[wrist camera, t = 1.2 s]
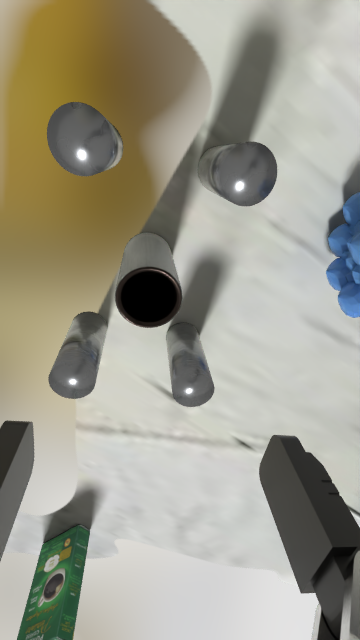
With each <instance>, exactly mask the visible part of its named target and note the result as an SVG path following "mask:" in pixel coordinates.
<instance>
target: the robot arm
mask: <svg viewBox="0 0 360 640" xmlns="http://www.w3.org/2000/svg"><path fill="white" fill-rule="evenodd" d="M33 462H34V436H33V423H32V422H25V421H24V422H23V421H5V422H4V423H3V425H2V426H1V428H0V561H1V558H2V555H3V552H4V549H5V546H6V544H7V541H8V538H9V535H10V532H11V530H12V527H13V524H14V521H15V518H16V516H17V513H18V510H19V507H20V504H21V501H22V499H23V496H24V493H25V490H26V487H27V485H28V482H29V479H30V476H31V473H32V468H33ZM259 475H260V481H261V484H262V487H263V490H264V493H265V495H266V498H267V501H268V504H269V506H270V509H271V512H272V515H273V517H274V520H275V523H276V526H277V529H278V531H279V534H280V537H281V540H282V542H283V545H284V548H285V551H286V553H287V556H288V559H289V562H290V564H291V567H292V570H293V573H294V575H295V578H296V581H297V584H298V587H299V589H300V592H301V593H316V596H317V598H318V601H319V604H318V606H317V609H316V614H315V621H314V627H313V633H312V640H360V528H359V526H358V524H357V522H356V521H355V519H354V517H353V516H352V514H351V512H350V510H349V509H348V507H347V505H346V504H345V502H344V500H343V499H342V497H341V496H339V492H338V490H337V488H336V487H335V485H334V483H332V480H331V478H330V476H329V475H328V473H327V471H326V469H325V468H324V466H323V465H322V464H321V463H320V462H319V461H318V460H317V459H316V458H315V457H314V456H313V455H312V454H311V453H309V452H305V450H304V448H303V446H302V445H301V443H300V441H299V439H298V438H297V437H295V436H284V435H273V436H272V437H271V439H270V442H269V444H268V447H267V449H266V451H265V454H264V456H263V458H262V461H261V463H260V468H259Z"/></svg>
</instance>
